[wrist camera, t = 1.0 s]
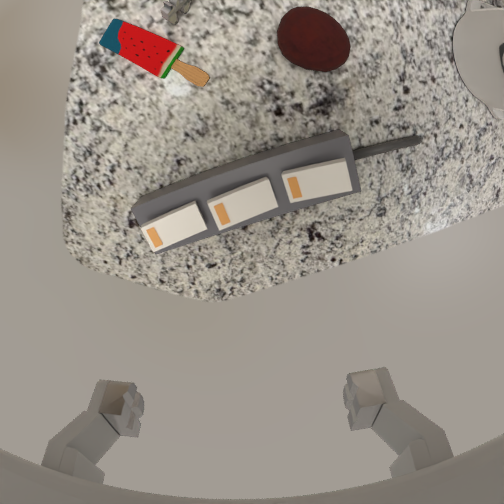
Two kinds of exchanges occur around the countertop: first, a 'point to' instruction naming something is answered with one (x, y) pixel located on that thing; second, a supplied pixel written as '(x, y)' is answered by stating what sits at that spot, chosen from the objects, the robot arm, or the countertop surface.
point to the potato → (313, 39)
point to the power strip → (257, 168)
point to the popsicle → (149, 51)
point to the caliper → (174, 9)
